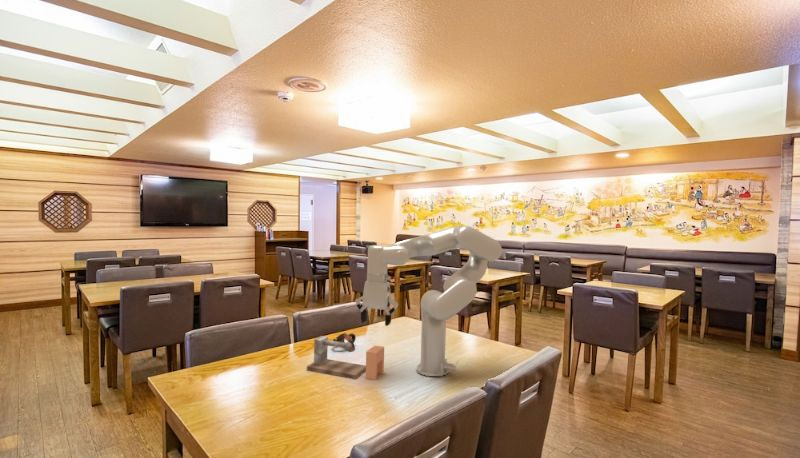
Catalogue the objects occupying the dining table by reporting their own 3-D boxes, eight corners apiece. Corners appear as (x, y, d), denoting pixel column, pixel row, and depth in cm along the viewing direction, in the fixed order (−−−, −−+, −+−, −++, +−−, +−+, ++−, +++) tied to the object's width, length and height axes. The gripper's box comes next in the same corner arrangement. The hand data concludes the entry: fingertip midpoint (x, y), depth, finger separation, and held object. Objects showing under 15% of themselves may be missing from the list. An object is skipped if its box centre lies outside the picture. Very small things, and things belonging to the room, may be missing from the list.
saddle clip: (383, 372, 148) (384, 346, 148) (375, 380, 141) (376, 353, 140) (374, 370, 149) (374, 345, 149) (365, 378, 142) (366, 351, 142)
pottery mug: (348, 355, 167) (339, 339, 167) (334, 360, 172) (326, 344, 172) (364, 341, 177) (355, 326, 177) (350, 346, 182) (342, 331, 183)
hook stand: (367, 369, 150) (367, 340, 150) (355, 379, 141) (356, 348, 141) (320, 361, 158) (321, 333, 157) (306, 370, 148) (307, 340, 148)
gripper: (402, 278, 145) (400, 323, 145) (360, 275, 151) (359, 318, 151) (395, 281, 138) (393, 328, 138) (351, 277, 144) (350, 323, 144)
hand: (375, 323), depth 145 cm, fingers open, 9 cm apart
